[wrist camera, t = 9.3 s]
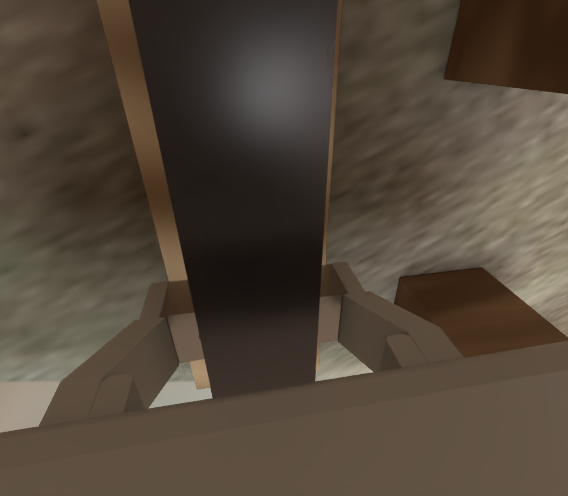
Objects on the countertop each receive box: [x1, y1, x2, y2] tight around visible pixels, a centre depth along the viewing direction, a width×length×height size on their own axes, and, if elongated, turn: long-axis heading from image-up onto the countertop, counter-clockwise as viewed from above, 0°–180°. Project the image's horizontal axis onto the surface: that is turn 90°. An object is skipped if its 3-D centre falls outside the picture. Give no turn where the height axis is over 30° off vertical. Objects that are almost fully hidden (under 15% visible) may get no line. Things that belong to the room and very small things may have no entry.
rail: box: [128, 0, 338, 398], centre depth 10 cm, size 20×3×3 cm, turn 0°
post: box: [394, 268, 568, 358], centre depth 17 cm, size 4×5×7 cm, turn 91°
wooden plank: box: [96, 0, 343, 389], centre depth 15 cm, size 24×8×1 cm, turn 1°
